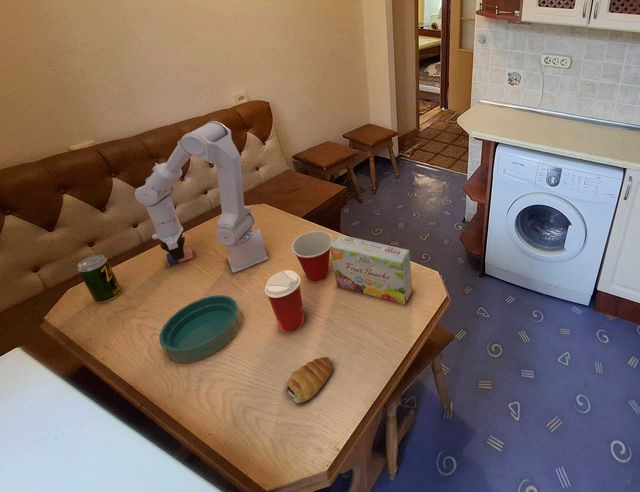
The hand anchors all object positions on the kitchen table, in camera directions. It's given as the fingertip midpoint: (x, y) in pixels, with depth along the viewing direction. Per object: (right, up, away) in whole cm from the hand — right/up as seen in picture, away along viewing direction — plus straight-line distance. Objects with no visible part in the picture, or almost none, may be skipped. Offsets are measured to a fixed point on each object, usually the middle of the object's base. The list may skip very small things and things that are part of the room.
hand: (179, 255), depth 108 cm
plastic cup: (+44, -5, -4) cm, 45 cm away
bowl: (+24, -12, -22) cm, 35 cm away
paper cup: (+44, -11, -19) cm, 49 cm away
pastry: (+54, -17, -32) cm, 65 cm away
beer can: (-9, -7, -12) cm, 17 cm away
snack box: (+62, -7, -8) cm, 63 cm away
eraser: (0, -1, +1) cm, 2 cm away
